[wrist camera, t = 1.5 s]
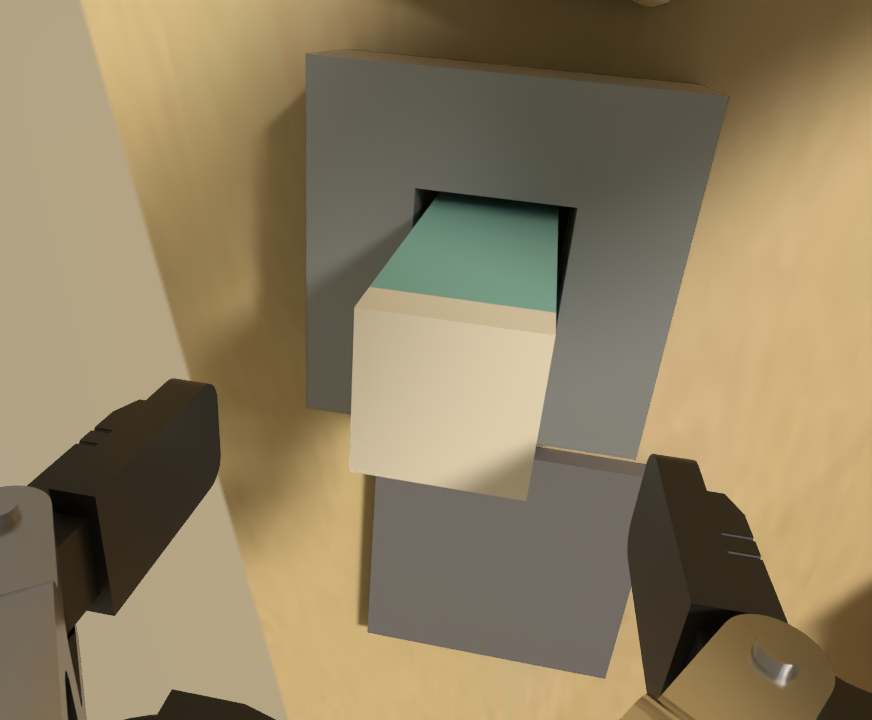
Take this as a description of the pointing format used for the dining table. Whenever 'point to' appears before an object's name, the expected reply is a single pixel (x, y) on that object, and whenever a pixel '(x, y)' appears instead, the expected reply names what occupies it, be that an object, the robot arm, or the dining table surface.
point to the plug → (458, 348)
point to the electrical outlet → (651, 2)
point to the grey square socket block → (515, 180)
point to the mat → (509, 564)
